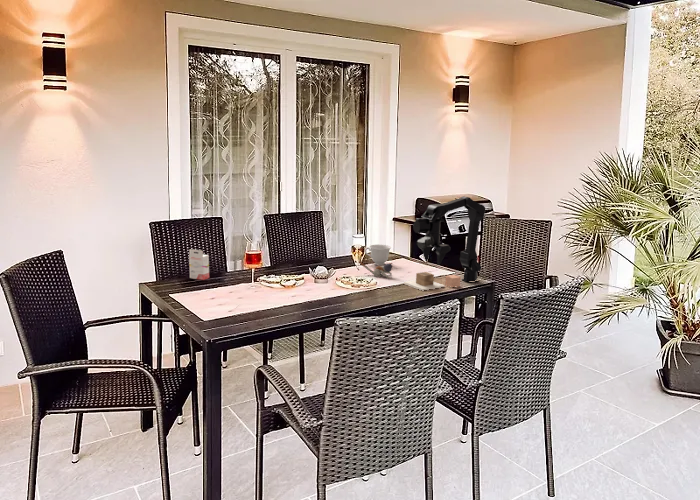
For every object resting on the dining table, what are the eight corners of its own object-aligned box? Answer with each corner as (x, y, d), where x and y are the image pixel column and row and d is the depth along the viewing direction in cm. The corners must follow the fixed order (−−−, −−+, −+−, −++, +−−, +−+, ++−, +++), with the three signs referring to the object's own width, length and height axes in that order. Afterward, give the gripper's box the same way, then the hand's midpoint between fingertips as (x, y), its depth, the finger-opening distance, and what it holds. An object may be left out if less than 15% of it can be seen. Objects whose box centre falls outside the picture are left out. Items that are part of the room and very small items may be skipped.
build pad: (426, 280, 296) (426, 278, 296) (444, 287, 285) (445, 285, 285) (404, 284, 289) (404, 282, 288) (422, 291, 277) (422, 289, 277)
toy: (384, 284, 299) (394, 268, 296) (355, 266, 301) (364, 250, 298) (388, 280, 308) (397, 264, 305) (359, 262, 310) (368, 246, 307)
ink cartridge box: (209, 278, 290) (209, 248, 287) (203, 280, 285) (203, 250, 282) (195, 276, 293) (194, 247, 290) (189, 278, 288) (188, 248, 285)
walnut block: (425, 281, 291) (425, 271, 290) (433, 284, 286) (433, 274, 285) (415, 283, 287) (416, 273, 286) (423, 286, 282) (424, 275, 281)
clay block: (452, 284, 291) (453, 274, 290) (459, 287, 287) (460, 277, 286) (445, 285, 288) (445, 276, 287) (452, 288, 284) (453, 278, 283)
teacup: (361, 262, 333) (362, 244, 331) (386, 261, 337) (387, 244, 335) (367, 267, 322) (367, 249, 320) (393, 266, 325) (393, 248, 323)
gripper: (408, 229, 285) (407, 260, 288) (433, 236, 269) (432, 269, 273) (426, 227, 291) (425, 258, 294) (452, 233, 275) (450, 266, 279)
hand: (432, 262), depth 285 cm, fingers open, 9 cm apart
